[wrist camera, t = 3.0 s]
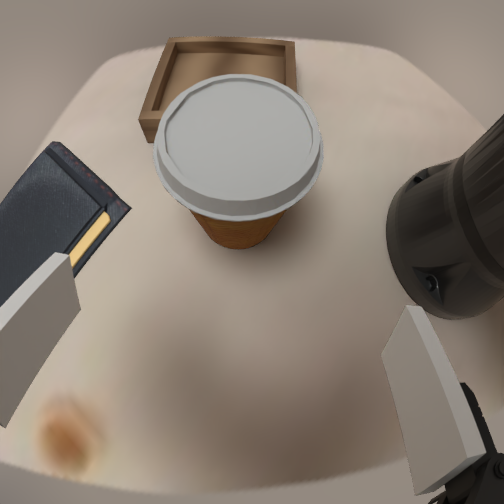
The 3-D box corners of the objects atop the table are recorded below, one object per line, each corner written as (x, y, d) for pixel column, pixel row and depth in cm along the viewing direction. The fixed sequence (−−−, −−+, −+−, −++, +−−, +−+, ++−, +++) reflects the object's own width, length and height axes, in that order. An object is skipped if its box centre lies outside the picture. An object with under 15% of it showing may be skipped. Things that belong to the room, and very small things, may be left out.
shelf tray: (290, 65, 32) (294, 41, 29) (291, 149, 29) (297, 125, 25) (173, 60, 32) (169, 37, 28) (147, 142, 29) (138, 119, 25)
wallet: (52, 131, 28) (132, 206, 26) (59, 140, 30) (138, 214, 27) (-50, 264, 23) (6, 369, 21) (-40, 268, 25) (17, 368, 23)
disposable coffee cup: (251, 149, 29) (259, 51, 17) (315, 228, 27) (364, 152, 15) (163, 201, 27) (121, 116, 16) (222, 291, 25) (208, 250, 14)
